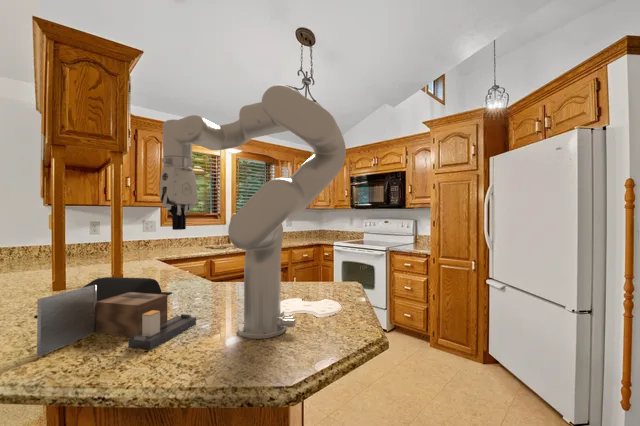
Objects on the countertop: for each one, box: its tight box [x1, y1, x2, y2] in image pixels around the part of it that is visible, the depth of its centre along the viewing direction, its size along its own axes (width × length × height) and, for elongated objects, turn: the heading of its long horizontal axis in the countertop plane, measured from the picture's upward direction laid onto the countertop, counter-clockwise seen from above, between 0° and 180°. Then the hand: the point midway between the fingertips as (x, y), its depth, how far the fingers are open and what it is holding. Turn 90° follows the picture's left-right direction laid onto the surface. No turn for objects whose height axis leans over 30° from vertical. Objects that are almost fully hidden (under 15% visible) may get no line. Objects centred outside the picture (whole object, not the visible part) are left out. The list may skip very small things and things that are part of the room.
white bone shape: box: [281, 297, 342, 318], centre depth 97 cm, size 20×2×25 cm
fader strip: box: [127, 313, 197, 351], centre depth 75 cm, size 6×16×3 cm, turn 167°
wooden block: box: [95, 292, 168, 338], centre depth 79 cm, size 13×10×8 cm
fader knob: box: [142, 310, 160, 337], centre depth 70 cm, size 2×3×5 cm
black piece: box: [33, 276, 173, 319], centre depth 101 cm, size 24×8×30 cm
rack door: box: [36, 285, 97, 357], centre depth 69 cm, size 13×2×12 cm, turn 171°
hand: (179, 229), depth 84 cm, fingers closed
